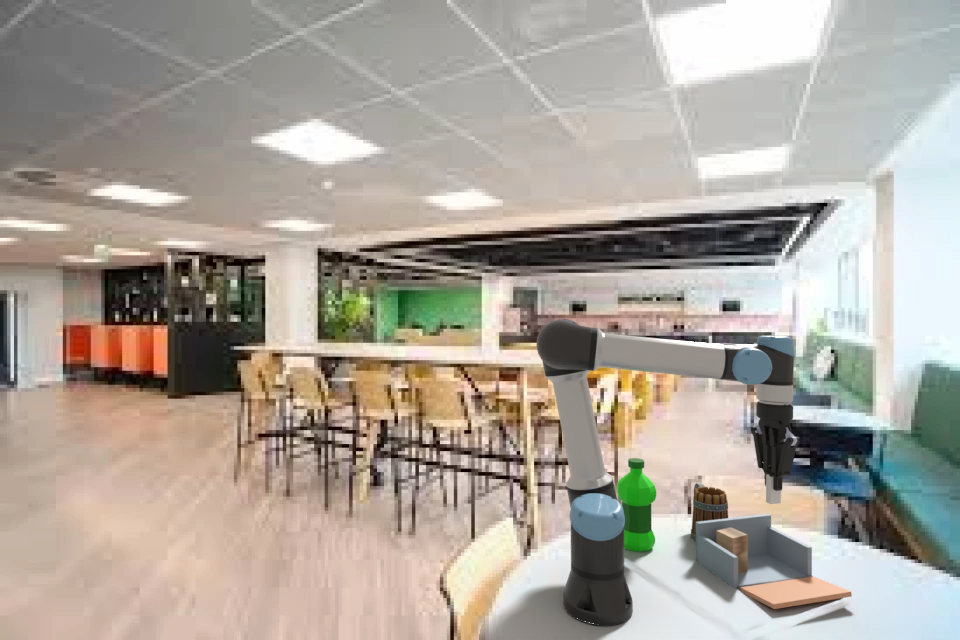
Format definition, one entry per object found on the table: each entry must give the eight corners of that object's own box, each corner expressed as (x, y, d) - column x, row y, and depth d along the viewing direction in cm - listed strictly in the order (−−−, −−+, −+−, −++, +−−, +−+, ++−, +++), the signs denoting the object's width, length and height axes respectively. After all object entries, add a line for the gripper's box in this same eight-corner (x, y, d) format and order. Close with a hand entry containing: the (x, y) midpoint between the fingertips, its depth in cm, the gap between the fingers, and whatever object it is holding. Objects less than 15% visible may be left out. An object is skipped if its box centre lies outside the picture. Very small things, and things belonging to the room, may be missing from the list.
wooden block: (733, 575, 129) (733, 538, 129) (716, 566, 134) (716, 530, 133) (747, 570, 131) (747, 534, 131) (730, 562, 136) (730, 527, 135)
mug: (738, 552, 145) (737, 497, 144) (699, 552, 145) (698, 497, 145) (713, 529, 160) (713, 479, 160) (678, 529, 160) (678, 479, 160)
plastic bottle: (651, 543, 151) (651, 455, 150) (659, 560, 140) (658, 466, 140) (615, 541, 152) (615, 454, 152) (620, 558, 142) (619, 465, 141)
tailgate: (737, 590, 123) (774, 609, 112) (737, 585, 123) (773, 603, 112) (810, 579, 128) (851, 596, 117) (809, 574, 128) (851, 591, 117)
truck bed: (733, 594, 123) (733, 544, 123) (695, 566, 137) (695, 521, 137) (811, 582, 128) (811, 534, 128) (767, 556, 142) (767, 513, 142)
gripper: (811, 406, 118) (809, 511, 118) (767, 397, 131) (766, 492, 131) (782, 407, 116) (780, 514, 117) (741, 397, 129) (740, 494, 129)
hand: (773, 502), depth 124 cm, fingers closed
